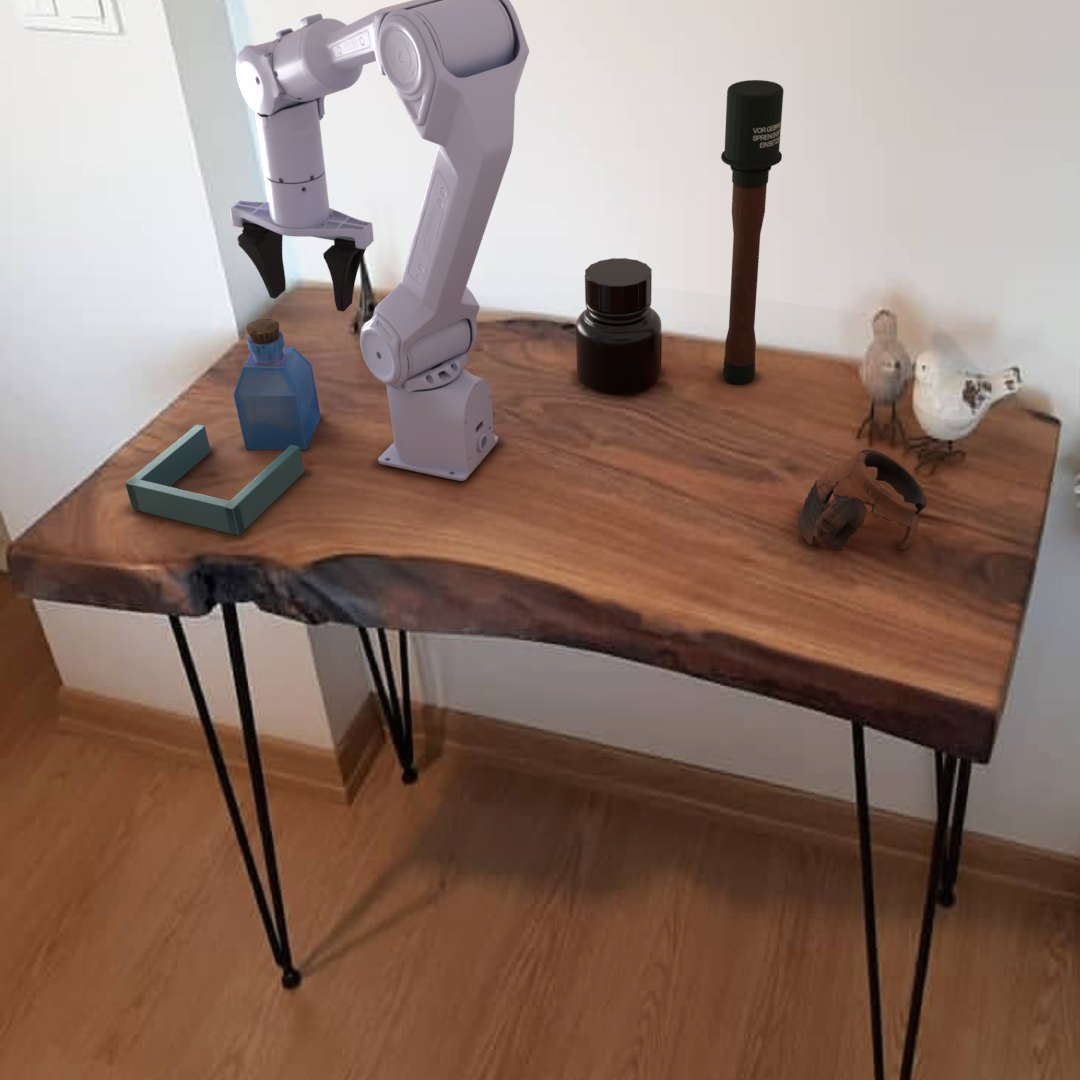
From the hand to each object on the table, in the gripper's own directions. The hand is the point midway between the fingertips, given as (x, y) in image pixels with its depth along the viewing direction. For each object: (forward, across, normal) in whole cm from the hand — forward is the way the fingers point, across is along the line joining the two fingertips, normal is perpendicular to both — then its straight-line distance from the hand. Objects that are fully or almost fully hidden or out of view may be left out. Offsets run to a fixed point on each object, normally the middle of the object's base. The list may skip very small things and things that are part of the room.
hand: (311, 300), depth 125 cm
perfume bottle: (+10, 0, +9) cm, 14 cm away
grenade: (+9, -42, -14) cm, 45 cm away
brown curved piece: (+7, -57, +11) cm, 59 cm away
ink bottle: (+9, -30, -11) cm, 33 cm away
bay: (+10, 0, +20) cm, 22 cm away
